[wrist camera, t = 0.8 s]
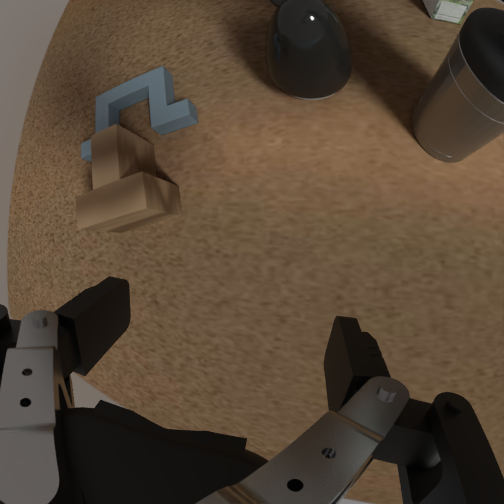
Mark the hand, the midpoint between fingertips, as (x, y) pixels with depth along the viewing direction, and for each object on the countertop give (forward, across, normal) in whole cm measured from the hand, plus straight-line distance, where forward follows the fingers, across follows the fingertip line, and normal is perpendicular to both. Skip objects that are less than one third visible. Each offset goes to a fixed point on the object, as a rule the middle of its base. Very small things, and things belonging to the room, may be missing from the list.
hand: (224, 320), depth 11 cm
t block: (+29, +17, -1) cm, 34 cm away
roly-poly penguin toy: (+31, -3, -18) cm, 36 cm away
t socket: (+32, +21, -11) cm, 40 cm away
